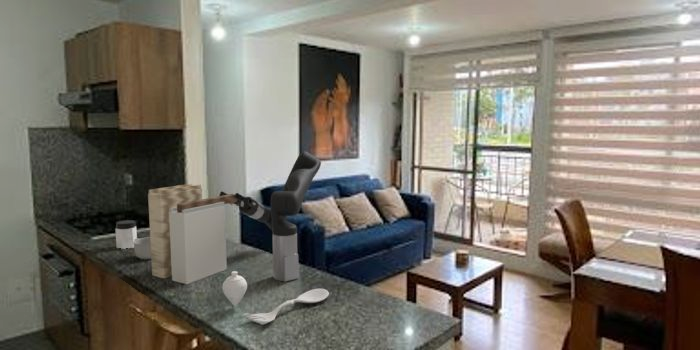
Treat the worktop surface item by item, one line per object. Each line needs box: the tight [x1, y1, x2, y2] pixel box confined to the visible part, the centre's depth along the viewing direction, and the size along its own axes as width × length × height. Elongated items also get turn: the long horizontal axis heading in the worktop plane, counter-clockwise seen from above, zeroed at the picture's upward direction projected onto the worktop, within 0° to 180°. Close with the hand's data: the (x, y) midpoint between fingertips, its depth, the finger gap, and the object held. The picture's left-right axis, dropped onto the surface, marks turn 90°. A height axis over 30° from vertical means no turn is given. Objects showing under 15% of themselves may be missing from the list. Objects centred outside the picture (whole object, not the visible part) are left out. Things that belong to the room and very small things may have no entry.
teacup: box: [133, 236, 151, 260], centre depth 203 cm, size 14×11×8 cm
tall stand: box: [147, 183, 203, 279], centre depth 184 cm, size 20×7×34 cm, turn 150°
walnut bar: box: [177, 193, 237, 213], centre depth 182 cm, size 28×3×3 cm, turn 150°
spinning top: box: [221, 270, 248, 309], centre depth 147 cm, size 8×8×12 cm
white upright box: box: [169, 202, 228, 285], centre depth 179 cm, size 20×8×28 cm, turn 150°
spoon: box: [241, 288, 330, 325], centre depth 146 cm, size 9×32×4 cm, turn 142°
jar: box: [115, 219, 138, 250], centre depth 219 cm, size 9×8×12 cm
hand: (228, 194), depth 190 cm, fingers open, 8 cm apart
